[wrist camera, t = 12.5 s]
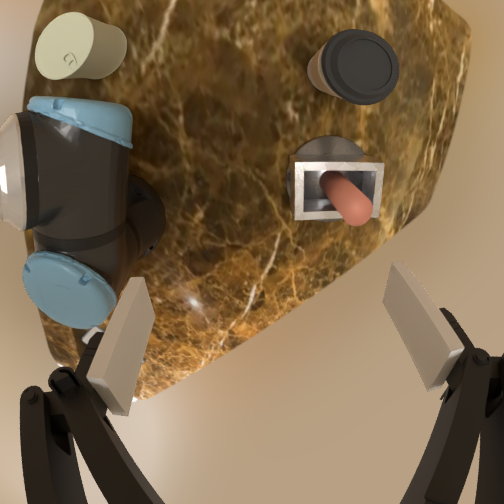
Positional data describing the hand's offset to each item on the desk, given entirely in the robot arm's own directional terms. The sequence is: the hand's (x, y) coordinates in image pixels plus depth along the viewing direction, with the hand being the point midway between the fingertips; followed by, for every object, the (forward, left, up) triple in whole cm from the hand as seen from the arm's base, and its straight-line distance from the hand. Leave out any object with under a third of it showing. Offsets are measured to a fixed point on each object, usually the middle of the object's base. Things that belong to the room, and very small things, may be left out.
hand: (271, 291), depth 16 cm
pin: (+12, -4, -32) cm, 34 cm away
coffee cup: (+12, +13, -33) cm, 37 cm away
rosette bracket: (+12, -4, -33) cm, 35 cm away
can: (-22, +20, -33) cm, 44 cm away
